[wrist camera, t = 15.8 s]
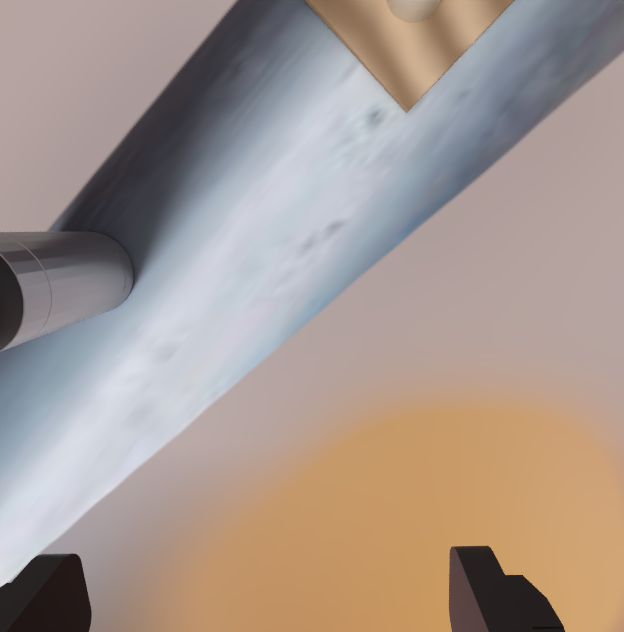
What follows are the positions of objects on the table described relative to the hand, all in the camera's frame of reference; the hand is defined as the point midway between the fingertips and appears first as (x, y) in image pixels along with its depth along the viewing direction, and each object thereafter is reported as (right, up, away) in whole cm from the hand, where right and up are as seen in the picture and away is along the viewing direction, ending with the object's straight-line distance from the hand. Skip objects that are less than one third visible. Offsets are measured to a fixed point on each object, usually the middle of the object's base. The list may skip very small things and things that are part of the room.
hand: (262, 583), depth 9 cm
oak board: (+11, +37, +31) cm, 49 cm away
